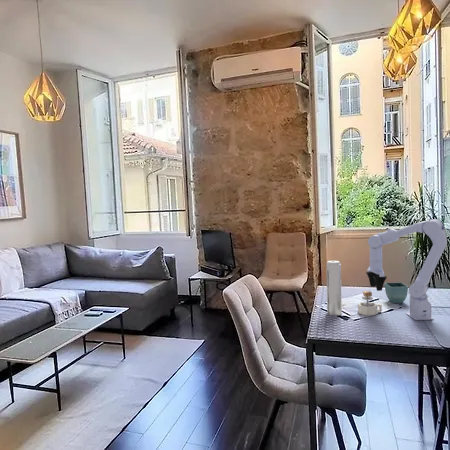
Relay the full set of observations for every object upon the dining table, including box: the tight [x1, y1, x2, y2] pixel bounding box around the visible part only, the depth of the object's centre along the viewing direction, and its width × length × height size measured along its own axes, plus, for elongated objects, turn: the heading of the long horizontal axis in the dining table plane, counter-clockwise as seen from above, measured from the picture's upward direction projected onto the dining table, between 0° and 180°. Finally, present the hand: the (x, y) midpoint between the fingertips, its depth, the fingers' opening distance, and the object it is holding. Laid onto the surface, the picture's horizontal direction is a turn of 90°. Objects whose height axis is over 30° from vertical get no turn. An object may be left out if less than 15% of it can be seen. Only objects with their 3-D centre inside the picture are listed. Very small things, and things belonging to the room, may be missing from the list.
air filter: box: [326, 260, 343, 317], centre depth 185 cm, size 6×6×25 cm
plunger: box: [361, 290, 374, 306], centre depth 185 cm, size 5×5×6 cm
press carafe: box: [357, 301, 383, 316], centre depth 186 cm, size 8×10×4 cm
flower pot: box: [383, 282, 409, 304], centre depth 201 cm, size 9×9×9 cm
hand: (376, 288), depth 188 cm, fingers open, 7 cm apart
